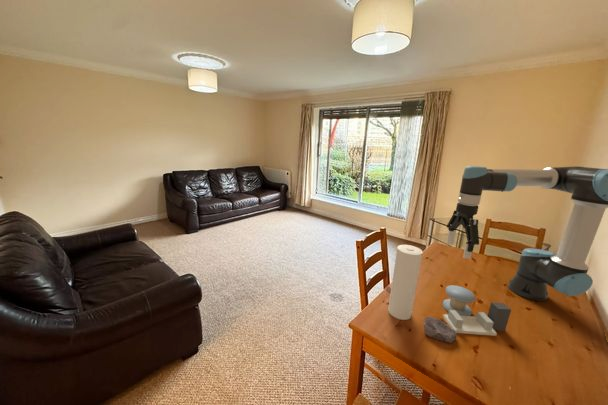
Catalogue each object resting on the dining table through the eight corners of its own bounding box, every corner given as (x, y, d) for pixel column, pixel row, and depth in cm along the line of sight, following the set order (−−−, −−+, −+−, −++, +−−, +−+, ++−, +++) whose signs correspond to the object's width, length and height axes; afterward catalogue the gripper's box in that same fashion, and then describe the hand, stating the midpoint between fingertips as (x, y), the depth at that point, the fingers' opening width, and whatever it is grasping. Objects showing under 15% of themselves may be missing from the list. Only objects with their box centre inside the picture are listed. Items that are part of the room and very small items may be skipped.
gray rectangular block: (497, 323, 102) (503, 303, 100) (504, 331, 99) (511, 309, 96) (485, 323, 103) (491, 302, 100) (492, 330, 99) (498, 308, 96)
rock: (456, 348, 89) (458, 338, 88) (421, 336, 94) (423, 325, 93) (455, 334, 96) (457, 324, 95) (423, 323, 101) (425, 313, 100)
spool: (462, 302, 116) (465, 286, 114) (476, 318, 105) (481, 301, 103) (438, 300, 116) (441, 284, 114) (450, 316, 106) (454, 299, 103)
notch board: (481, 319, 105) (483, 309, 103) (496, 335, 96) (499, 325, 95) (442, 316, 105) (444, 307, 104) (454, 332, 96) (456, 322, 95)
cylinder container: (413, 321, 101) (425, 254, 94) (389, 317, 103) (399, 251, 96) (408, 307, 110) (419, 245, 103) (386, 303, 112) (395, 242, 105)
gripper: (444, 196, 114) (435, 239, 120) (477, 211, 90) (465, 264, 96) (460, 197, 114) (451, 240, 119) (498, 212, 90) (485, 265, 95)
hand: (457, 250), depth 107 cm, fingers open, 13 cm apart
